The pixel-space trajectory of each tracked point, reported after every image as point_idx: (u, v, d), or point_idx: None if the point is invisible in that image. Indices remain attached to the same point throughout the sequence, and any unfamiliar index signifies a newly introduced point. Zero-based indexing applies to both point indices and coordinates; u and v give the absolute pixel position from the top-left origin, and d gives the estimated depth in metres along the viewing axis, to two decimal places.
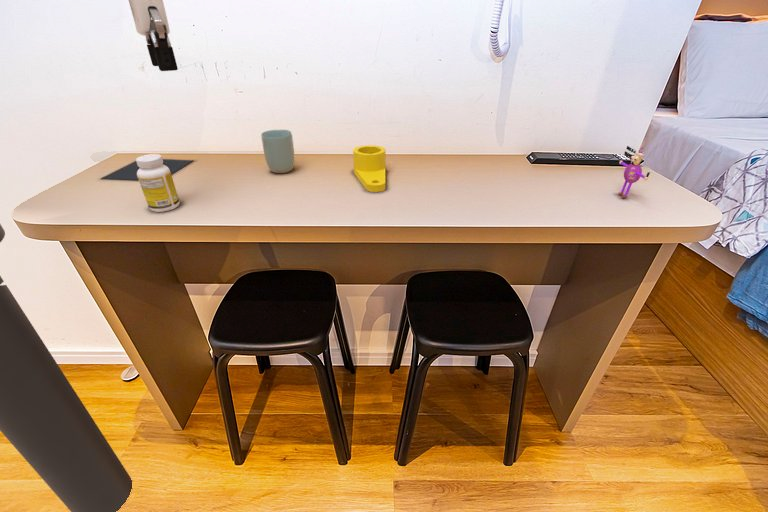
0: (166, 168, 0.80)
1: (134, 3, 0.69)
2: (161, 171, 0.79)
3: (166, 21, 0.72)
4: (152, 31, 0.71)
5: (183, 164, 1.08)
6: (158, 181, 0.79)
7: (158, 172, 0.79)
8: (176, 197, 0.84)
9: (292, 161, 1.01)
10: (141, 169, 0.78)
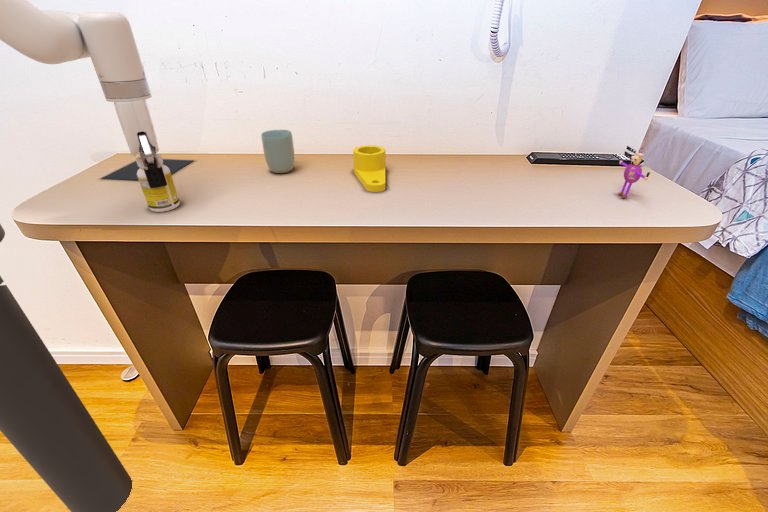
0: (166, 168, 0.80)
1: (124, 130, 0.71)
2: None
3: (155, 142, 0.74)
4: (142, 155, 0.75)
5: (183, 164, 1.08)
6: None
7: None
8: (176, 197, 0.84)
9: (292, 161, 1.01)
10: (141, 169, 0.78)
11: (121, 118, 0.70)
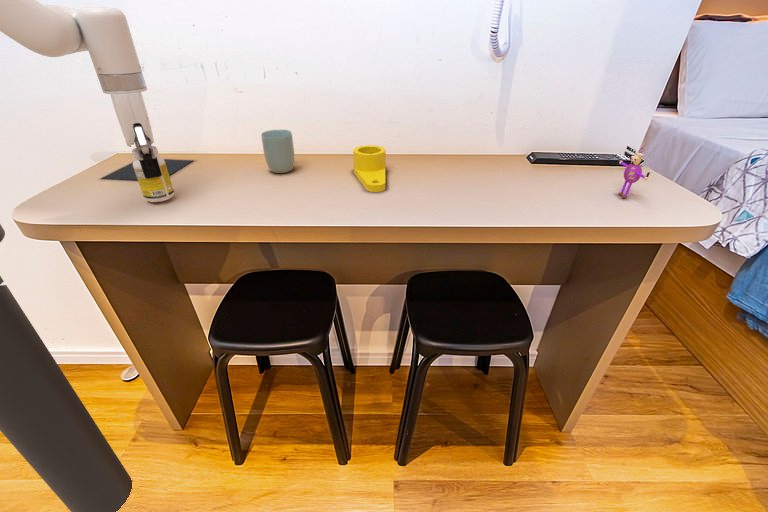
0: (161, 159, 0.83)
1: (120, 121, 0.74)
2: None
3: (150, 133, 0.77)
4: (138, 146, 0.77)
5: (183, 164, 1.08)
6: None
7: None
8: (171, 188, 0.86)
9: (292, 161, 1.01)
10: (137, 160, 0.81)
11: (117, 110, 0.73)
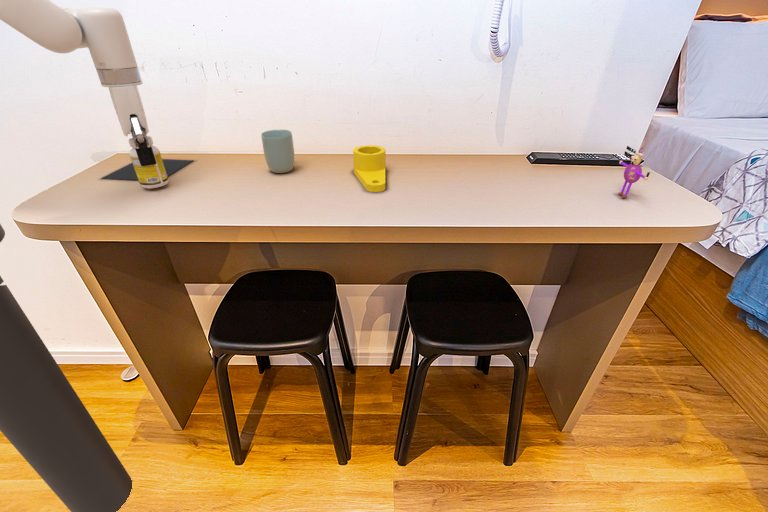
0: (156, 148, 0.90)
1: (117, 112, 0.80)
2: None
3: (145, 124, 0.83)
4: (134, 135, 0.84)
5: (183, 164, 1.08)
6: None
7: None
8: (165, 175, 0.93)
9: (292, 161, 1.01)
10: (133, 149, 0.87)
11: (115, 101, 0.79)
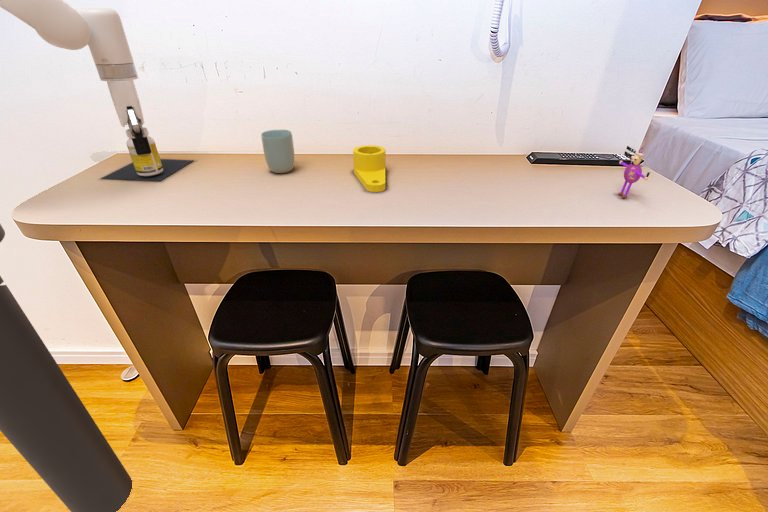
0: (151, 139, 0.96)
1: (115, 105, 0.87)
2: None
3: (141, 115, 0.90)
4: (130, 126, 0.91)
5: (183, 164, 1.08)
6: None
7: None
8: (160, 164, 0.99)
9: (292, 161, 1.01)
10: (130, 139, 0.94)
11: (112, 94, 0.86)
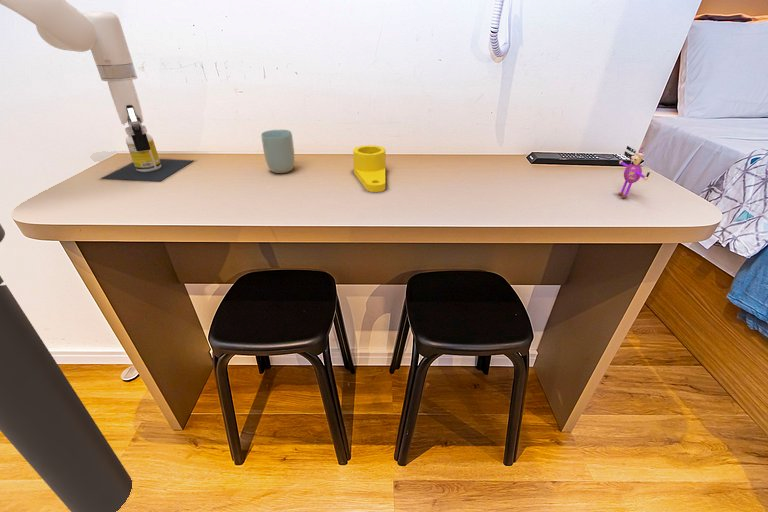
0: (149, 136, 1.00)
1: (115, 103, 0.91)
2: None
3: (140, 114, 0.94)
4: (130, 123, 0.94)
5: (183, 164, 1.08)
6: None
7: None
8: (158, 161, 1.04)
9: (292, 161, 1.01)
10: (129, 136, 0.98)
11: (113, 94, 0.90)
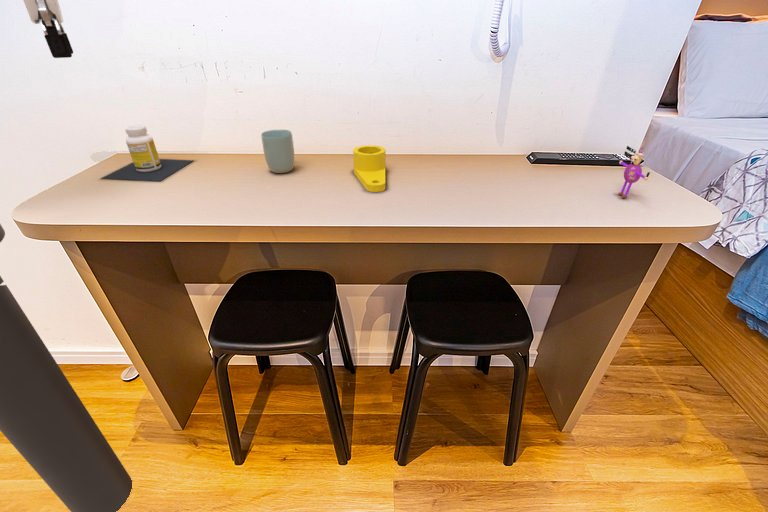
0: (149, 136, 1.00)
1: None
2: (145, 139, 0.99)
3: (56, 10, 0.76)
4: (42, 19, 0.75)
5: (183, 164, 1.08)
6: (142, 146, 0.99)
7: (143, 139, 0.99)
8: (158, 161, 1.04)
9: (292, 161, 1.01)
10: (129, 136, 0.98)
11: None
